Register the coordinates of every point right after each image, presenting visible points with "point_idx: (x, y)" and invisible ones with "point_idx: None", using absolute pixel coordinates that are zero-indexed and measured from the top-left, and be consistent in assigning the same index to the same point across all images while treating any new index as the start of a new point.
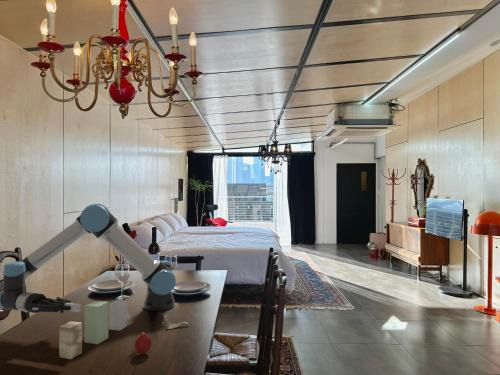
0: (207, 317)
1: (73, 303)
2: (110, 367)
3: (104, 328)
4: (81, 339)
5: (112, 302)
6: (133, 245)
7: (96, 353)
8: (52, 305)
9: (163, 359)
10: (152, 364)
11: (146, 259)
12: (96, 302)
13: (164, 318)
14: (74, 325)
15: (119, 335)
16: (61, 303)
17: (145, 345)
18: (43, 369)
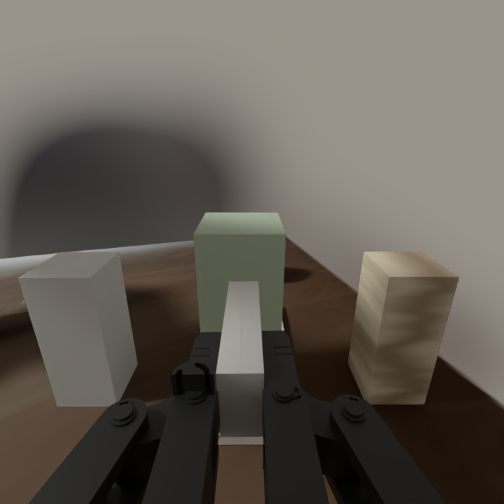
0: (40, 259)
1: (228, 317)
2: (342, 291)
3: None
4: (357, 310)
5: (72, 274)
6: None
7: (307, 342)
8: (401, 474)
9: None
10: (293, 259)
11: None
12: (223, 226)
13: (3, 312)
14: (401, 253)
15: (156, 356)
16: (206, 486)
17: None
18: (498, 408)
